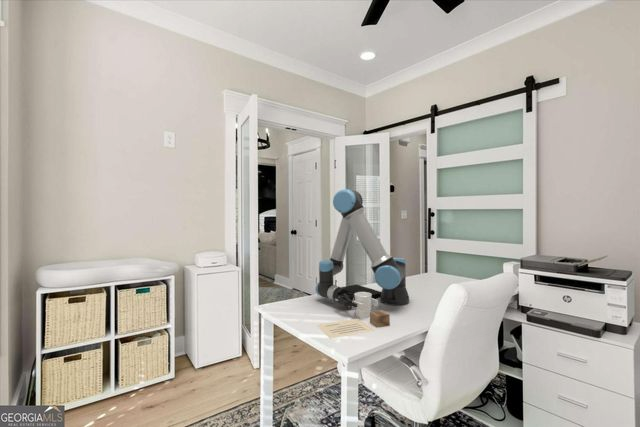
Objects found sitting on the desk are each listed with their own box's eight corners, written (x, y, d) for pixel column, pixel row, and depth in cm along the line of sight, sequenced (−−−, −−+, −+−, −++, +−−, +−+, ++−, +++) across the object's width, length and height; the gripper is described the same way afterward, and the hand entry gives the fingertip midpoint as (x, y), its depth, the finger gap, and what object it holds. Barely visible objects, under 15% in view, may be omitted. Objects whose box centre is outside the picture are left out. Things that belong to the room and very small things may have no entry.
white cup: (353, 312, 147) (353, 291, 147) (370, 312, 147) (370, 291, 147) (355, 318, 139) (355, 296, 139) (373, 318, 139) (372, 296, 139)
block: (382, 321, 136) (382, 310, 136) (389, 326, 130) (389, 314, 130) (369, 323, 134) (369, 311, 134) (377, 328, 128) (376, 316, 128)
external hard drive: (356, 289, 192) (356, 284, 192) (384, 297, 172) (384, 292, 172) (338, 292, 184) (338, 287, 184) (364, 302, 164) (364, 296, 164)
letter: (358, 318, 139) (358, 318, 139) (375, 330, 125) (375, 330, 125) (316, 325, 132) (316, 324, 132) (330, 339, 118) (330, 338, 118)
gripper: (321, 290, 151) (352, 301, 133) (353, 283, 164) (386, 292, 145) (321, 305, 151) (353, 318, 133) (353, 297, 164) (386, 308, 146)
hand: (370, 305), depth 139 cm, fingers open, 8 cm apart
